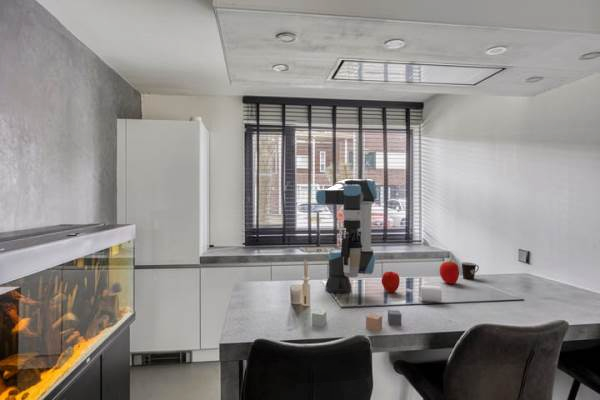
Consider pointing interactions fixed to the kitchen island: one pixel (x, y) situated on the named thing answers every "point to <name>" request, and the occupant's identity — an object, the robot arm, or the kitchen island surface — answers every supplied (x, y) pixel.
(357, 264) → the coffee cup
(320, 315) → the sage cube
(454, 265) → the red strawberry
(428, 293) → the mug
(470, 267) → the coffee mug
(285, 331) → the kitchen island surface
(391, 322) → the charcoal cube
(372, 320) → the terracotta cube
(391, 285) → the red rounded piece
